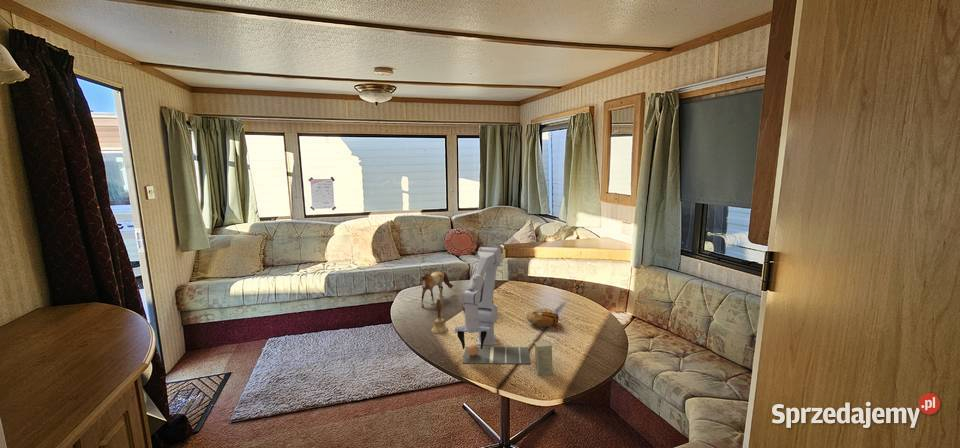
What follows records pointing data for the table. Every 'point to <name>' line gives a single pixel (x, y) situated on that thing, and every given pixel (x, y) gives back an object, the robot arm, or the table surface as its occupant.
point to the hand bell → (439, 321)
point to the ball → (472, 350)
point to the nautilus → (544, 318)
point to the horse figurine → (434, 283)
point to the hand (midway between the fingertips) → (472, 347)
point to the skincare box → (543, 358)
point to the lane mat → (498, 356)
